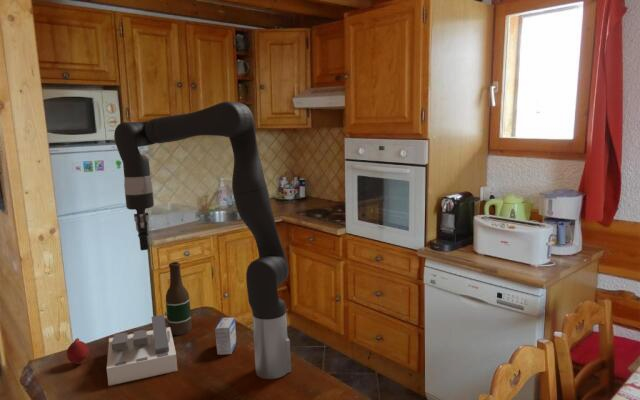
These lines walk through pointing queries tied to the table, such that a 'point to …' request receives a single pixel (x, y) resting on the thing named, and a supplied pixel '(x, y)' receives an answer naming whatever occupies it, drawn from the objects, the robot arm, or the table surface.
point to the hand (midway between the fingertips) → (144, 249)
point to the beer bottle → (177, 303)
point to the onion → (77, 351)
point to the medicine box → (225, 336)
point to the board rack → (139, 360)
